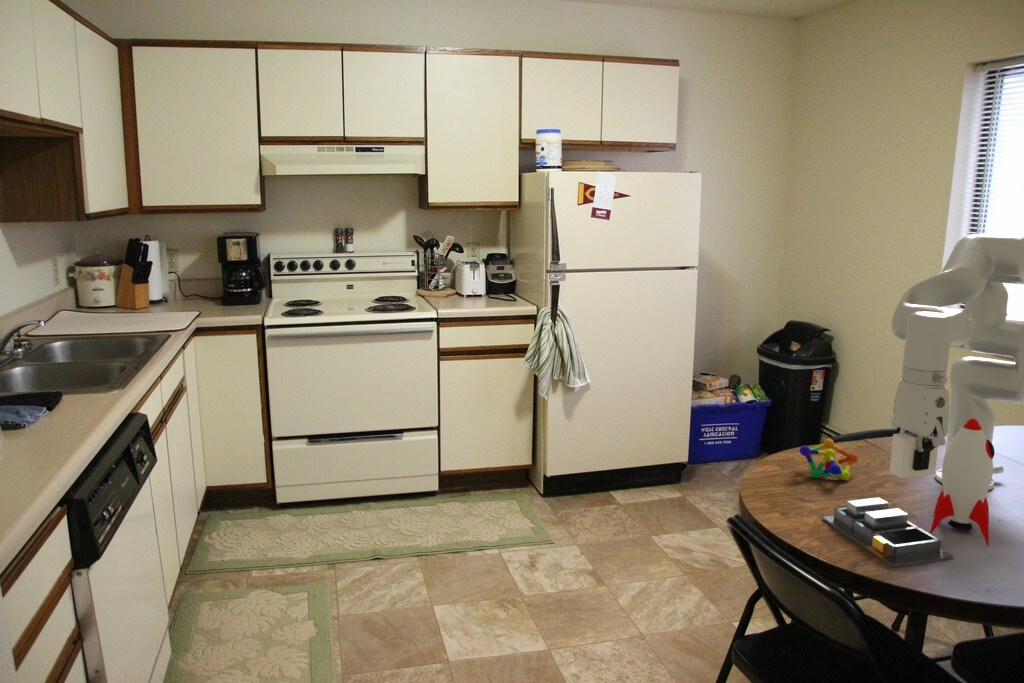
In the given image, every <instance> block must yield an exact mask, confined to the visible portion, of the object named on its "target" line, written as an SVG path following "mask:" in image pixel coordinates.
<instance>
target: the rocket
mask: <svg viewBox="0 0 1024 683" xmlns="http://www.w3.org/2000/svg"><path fill="white" fill-rule="evenodd" d="M945 450H946V449H945ZM994 457H995V447H994V445H993V442H992V443H991V442H990V441H989V440H988V439H986V437H985V434H984V432H983V430H982V428H981V426H980V424H979V423H978V421H977V420H976V419H970V420H968V421H967V422H966V423H965V424H964V426H963V427H962V428H961V429H960V430H959V432H958V433H957V434H956V435H955V437H954V438H953V439H952V441H951V443H950V444H949V446H948V448H947V450H946V453H945V452H944V456H943V460H942V467H941V469H942V490H941V491H940V492H939V495H938V498H937V501H936V504H935V507H934V509H933V510H934V511H933V514H934V515H933V520H932V523H931V528H930V530H929V531H930V532H929V534H931V535H932V533H934V531H935V530H936V529H937V528H938V526H939V525H940V524H941V523H942V521H944V519H946V518H948V519H949V521H948V522H947V525H948V526H949V527H950V528H952V529H955V530H958V531H964V532H967V531H968V532H970V531H972V530H973V529H974V528H973V523H975V524H977V526H978V527H979V529H980V532H981V534H982V536H983V539H984V541H985V543H986V545H987V547H989V546H990V542H989V541H990V539H989V535H990V534H989V532H990V530H989V526H990V511H989V510H990V509H989V502H988V499H987V498H988V497H987V494H988V491H989V490H988V489H989V486H990V483H991V479H992V477H993V475H992V473H993V466H994V464H993V463H994V462H993V461H994V460H993V459H994ZM988 525H989V526H988Z"/></svg>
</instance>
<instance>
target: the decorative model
mask: <svg viewBox="0 0 1024 683" xmlns="http://www.w3.org/2000/svg"><path fill="white" fill-rule="evenodd" d="M824 448H826V449H825V450H822V449H824ZM835 451H836V452H837V453H840V454H841V455H843V456H845V458H841V459H839V460H837V458H836V457H835V456H836V452H835ZM799 453H800V455H802V456H804V457H805V458H806V460H807V463H808V464H809V467H810V469H811V470H810V472H809V473H810V476H811V477H812V478H814V479H819V478H821V476H823V477H838V478H839V479H840V480H842V481H848V480H849V479H850V478H851V474H850V469H851V467H852V465H853V464H855V463H856V462H857V461H858V460H859V458H858V455H857V454H856V453H855V452H850V453H848V452H847V451H845V450H844V449H842V448H841V447H839V446H837V445H835V442H834V440H833V439H832V438H825V439H824V440H823V443H821V444H818V445H817V446H816V445H815V447H812V448H811V447H809V445H802V446H800V447H799ZM815 455H816V456H824V457H823V459H822V460H821V462H820V463H819V464H818V465H817V467H816V464H815V460H814V459H813V456H815ZM845 463H847V464H846V465H845V467H844V469H843V467H842V466H841V465H842V464H845ZM823 467H824V469H823Z"/></svg>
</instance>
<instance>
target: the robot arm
mask: <svg viewBox="0 0 1024 683" xmlns="http://www.w3.org/2000/svg"><path fill="white" fill-rule="evenodd" d="M1004 284H1013V285H1024V236H1022V235H1021V236H1020V235H1011V234H1010V235H1008V234H1007V235H1006V234H1005V235H1003V234H987V233H986V234H984V233H983V234H982V233H981V234H980V233H978V234H977V233H976V234H968V235H966V236H964V237H962V238H961V239H959V240H958V241H957V243H956V244H955V245H954V248H953V249H952V252H951V253H950V254H949V257H948V259H947V260H946V263H945V265H944V266H943V268H942V270H941V272H938V273H936V274H934V275H932V276H930V277H926V278H925V279H923V280H920V281H919V282H917V283H914V284H913V285H912V286H910V287H908V289H907V290H906V291H905V292H904V293H903V295H902V296H901V298H900V300H899V302H898V304H897V306H896V307H895V310H894V312H893V315H892V319H891V323H890V324H891V330H892V333H893V335H894V337H896V338H897V339H899V340H901V341H904V348H903V349H904V350H903V358H902V369H901V376H900V377H901V378H900V379H899V381H898V385H897V388H896V391H895V395H894V396H895V397H894V402H893V409H892V419H891V422H890V424H891V426H892V427H893V429H894V430H895V431H896V434H899V433H910V432H911V433H913V434H916V435H918V440H917V450H915V452H914V461H913V470H915V471H918V470H927V469H928V468H929V459H930V451H933V450H934V448H935V447H937V446H938V447H941V446H944V445H945V451H944V454H945V453H946V450H947V448H948V446H949V444H950V443H951V441H952V439H953V438H954V437H955V435H956V434H957V433H958V432H959V430H960V429H961V428H962V427H963V426H964V424H965V423H966V422H967V421H968V420H970V419H976V420H977V421H978V423H979V424H980V426H981V428H982V430H983V432H984V434H985V437H986V439H988V440H989V441H990V442H991V443H992V444H993V438H994V431H995V424H996V414H995V411H994V409H993V407H992V405H990V403H989V402H988V400H994V401H999V402H1005V403H1011V404H1018V405H1019V404H1021V405H1022V404H1023V405H1024V316H1016V315H1015V316H1014V315H1009V314H1007V309H1008V300H1009V293H1008V290H1007V288H1006V287H1005V285H1004ZM963 303H964V307H963V308H964V309H962V308H961V309H960V308H956V307H955V308H954V307H946V306H955V305H959V304H963ZM961 346H963V347H964V348H965V349H966V350H967V351H970V352H974V353H979V354H984V355H985V354H986V355H992V356H993V355H994V356H1001V357H1008V358H1012V359H1013V361H1010V360H1009V361H1007V360H1002V359H996V358H987V357H982V356H981V357H979V356H964V357H959V358H957V359H956V360H955V361H954V362H953V363H952V365H951V367H950V372H949V379H950V380H949V381H950V382H949V383H950V392H949V388H948V387H947V386H946V383H947V382H948V377H947V372H948V364H949V355H950V348H957V347H961ZM949 393H950V394H949ZM945 437H946V439H945ZM924 439H927V442H925V443H924ZM1004 470H1005V469H1004V466H1002V465H1001V464H999V465H993V473H992V476H993V475H995V474H1003V473H1004ZM934 475H935V476H934V477H935V479H936V480H937V481H938V482H940V483H942V468H939V469H937V470H935V474H934ZM942 484H943V483H942ZM994 487H995V480H994V479H991V483H990V486H989V489H988V491H990V490H992V489H994Z"/></svg>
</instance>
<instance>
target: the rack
mask: <svg viewBox="0 0 1024 683" xmlns="http://www.w3.org/2000/svg"><path fill="white" fill-rule="evenodd" d="M889 505H890V504H889V502H888V501H886V500H884V499H882V498H881V497H870V498H862V499H861V498H860V499H853V500H852V499H851V500H847V501H846V506H845V507H838V508H834V510H833V511H834V512H833V513H834V514H833V515H832V514H831V515H824V516H822V518H821V519H822V520H823V521H824V522H826V523H827V524H828V525H830V526H831V527H833V528H834V529H836V530H837V531H839V532H840V533H841V534H843V535H845V536H846V537H847V538H849V539H850V540H852V541H853V542H855V543H856V544H858V545H859V546H861V547H862V548H864V549H865V550H867V551H868V552H869V553H871V554H872V555H874V556H875V557H877V558H878V559H879V560H881V561H882V562H883V563H885V564H887V566H890V567H891V568H892V569H893V568H898V567H906V565H907V566H913V565H920V564H921V565H922V564H928V563H934V562H941V561H947V560H949V561H950V560H954V555H952V554H950V553H949V552H947V551H946V550H944V549H942V548H941V547H942V546H941V545H942V540H941V539H939V538H938V537H936V536H934V535H932V533H931V534H930V532H927V531H926V530H924V529H923V528H921V527H919V526H917V525H916V524H914V523H912V522H911V521H909V520H908V519H909V513H907V512H905V511H903V509H902V510H901V509H900V508H889Z"/></svg>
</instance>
